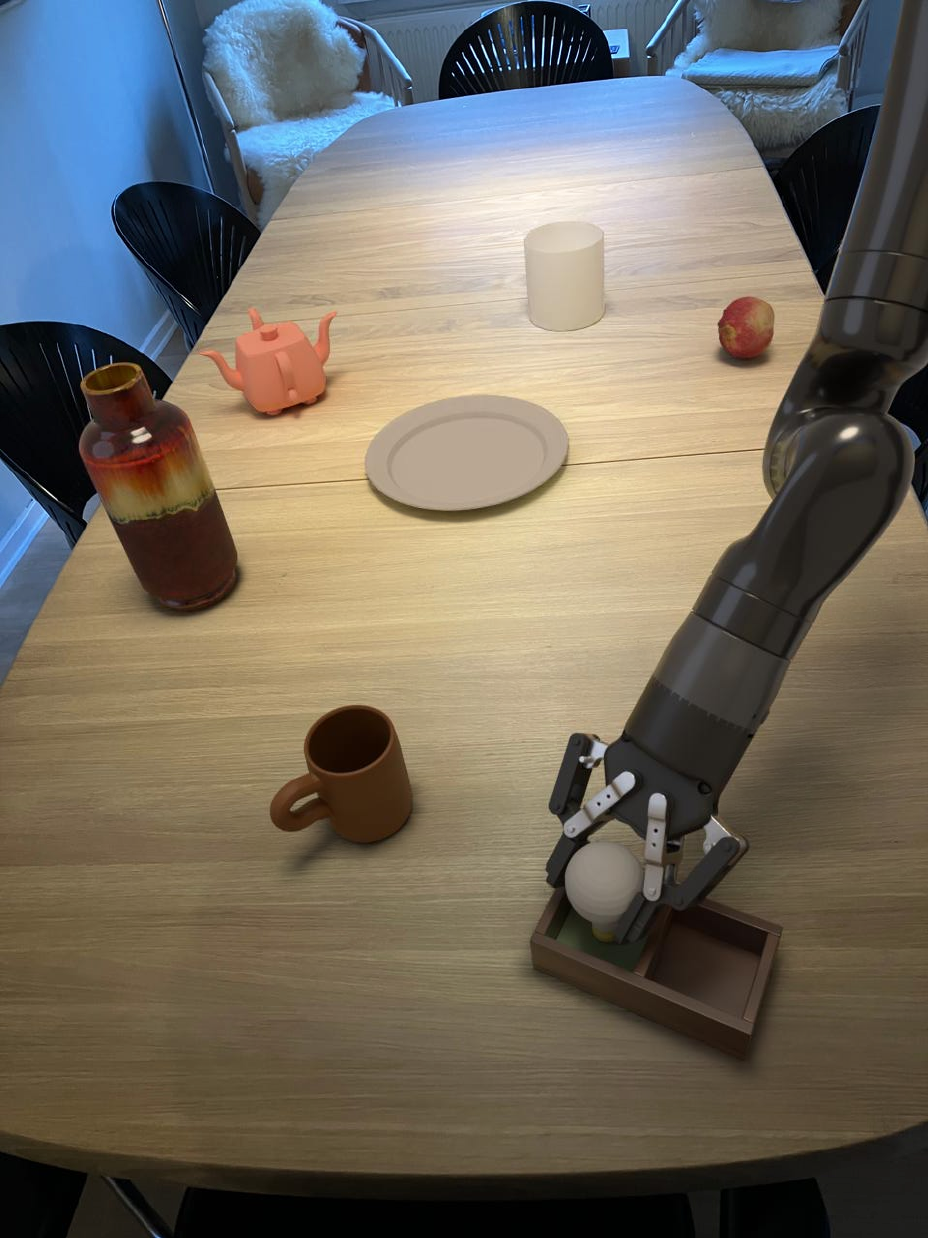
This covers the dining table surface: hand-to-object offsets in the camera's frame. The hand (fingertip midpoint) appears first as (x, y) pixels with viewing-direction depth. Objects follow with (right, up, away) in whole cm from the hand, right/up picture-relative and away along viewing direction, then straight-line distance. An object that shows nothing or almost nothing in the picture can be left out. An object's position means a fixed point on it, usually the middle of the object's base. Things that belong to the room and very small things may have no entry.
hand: (588, 911), depth 63 cm
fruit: (+30, +56, +65) cm, 91 cm away
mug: (-18, +2, +15) cm, 24 cm away
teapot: (-35, +53, +72) cm, 96 cm away
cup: (+7, +67, +80) cm, 105 cm away
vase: (-39, +24, +41) cm, 61 cm away
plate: (-8, +40, +54) cm, 67 cm away
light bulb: (+2, -3, +5) cm, 6 cm away
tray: (+5, -5, +4) cm, 8 cm away
